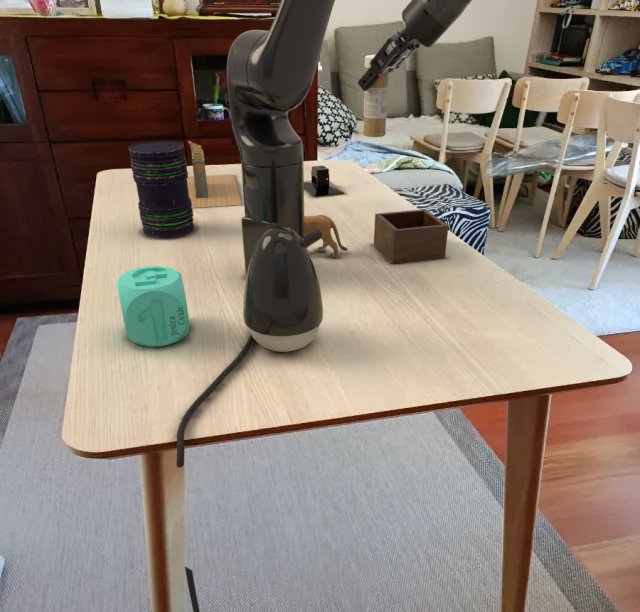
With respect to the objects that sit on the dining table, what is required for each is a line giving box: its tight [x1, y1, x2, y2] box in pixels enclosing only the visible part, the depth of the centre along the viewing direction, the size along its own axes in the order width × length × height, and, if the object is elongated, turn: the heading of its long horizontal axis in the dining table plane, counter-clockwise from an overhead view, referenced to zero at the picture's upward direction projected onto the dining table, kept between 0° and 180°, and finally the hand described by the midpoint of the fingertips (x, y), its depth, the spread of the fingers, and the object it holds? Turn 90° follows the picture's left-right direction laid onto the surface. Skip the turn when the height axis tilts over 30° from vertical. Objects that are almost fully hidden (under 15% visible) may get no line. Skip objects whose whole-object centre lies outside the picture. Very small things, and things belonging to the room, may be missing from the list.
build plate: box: [304, 165, 345, 198], centre depth 139 cm, size 12×7×5 cm, turn 20°
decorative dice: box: [116, 265, 191, 348], centre depth 80 cm, size 8×8×8 cm
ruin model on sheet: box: [187, 140, 243, 209], centre depth 136 cm, size 25×16×10 cm, turn 11°
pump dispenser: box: [242, 226, 324, 353], centre depth 76 cm, size 10×10×15 cm
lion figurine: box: [304, 214, 349, 259], centre depth 104 cm, size 15×5×9 cm, turn 92°
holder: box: [373, 208, 450, 265], centre depth 106 cm, size 10×10×6 cm
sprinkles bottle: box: [362, 54, 389, 138], centre depth 115 cm, size 5×5×13 cm
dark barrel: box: [128, 140, 195, 240], centre depth 112 cm, size 10×10×15 cm
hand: (366, 85), depth 114 cm, fingers closed on sprinkles bottle, 4 cm apart
